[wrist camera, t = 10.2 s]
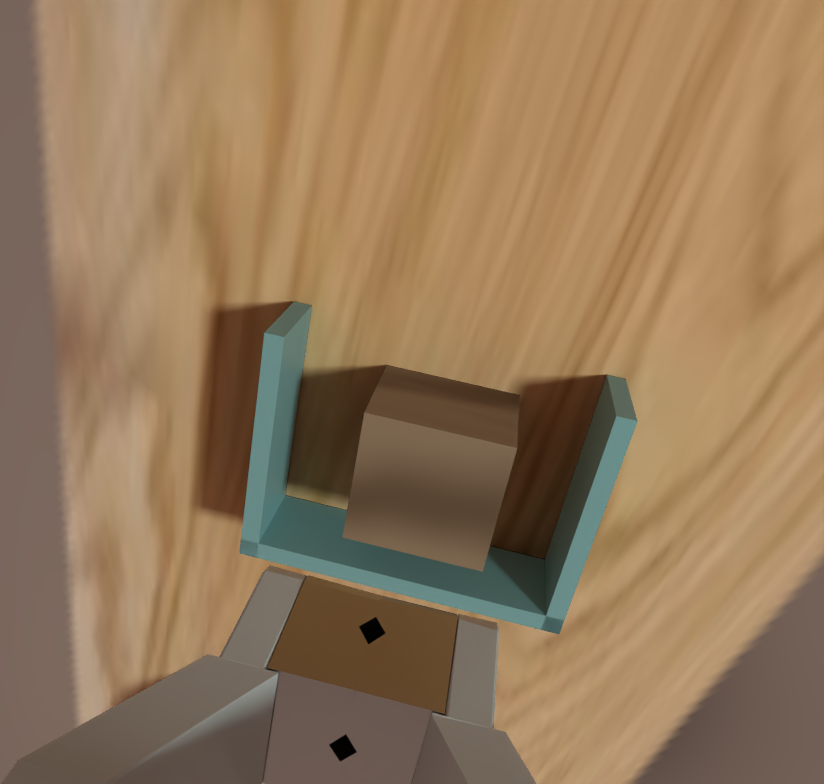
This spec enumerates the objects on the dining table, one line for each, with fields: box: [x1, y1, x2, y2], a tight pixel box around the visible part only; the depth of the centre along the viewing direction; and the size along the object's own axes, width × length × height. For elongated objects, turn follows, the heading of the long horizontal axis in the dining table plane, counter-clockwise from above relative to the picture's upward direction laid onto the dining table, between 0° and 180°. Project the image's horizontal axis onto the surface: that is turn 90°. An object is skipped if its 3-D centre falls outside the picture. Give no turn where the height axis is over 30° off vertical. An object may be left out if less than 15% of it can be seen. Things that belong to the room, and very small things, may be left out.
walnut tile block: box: [343, 365, 520, 572], centre depth 32 cm, size 6×6×5 cm
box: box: [240, 301, 637, 634], centre depth 33 cm, size 11×15×4 cm
